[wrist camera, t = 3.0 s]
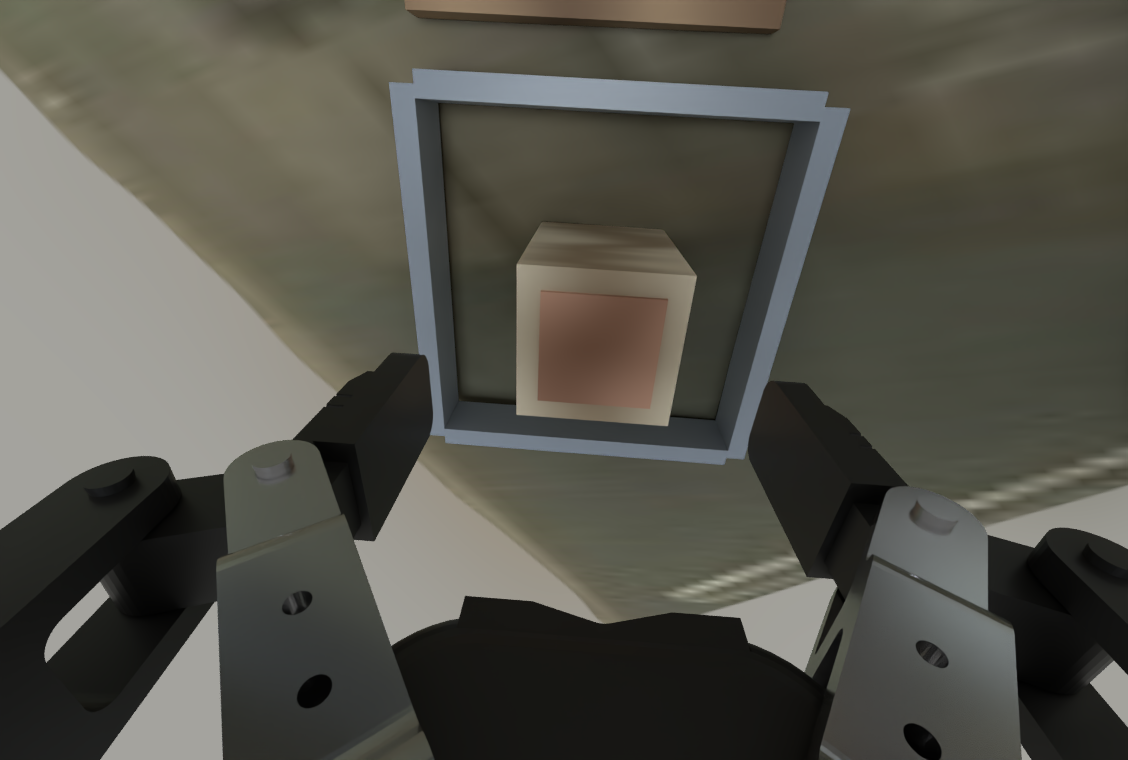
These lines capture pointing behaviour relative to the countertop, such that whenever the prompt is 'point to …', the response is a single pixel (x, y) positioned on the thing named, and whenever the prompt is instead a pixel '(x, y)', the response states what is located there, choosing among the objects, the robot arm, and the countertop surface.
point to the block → (600, 323)
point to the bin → (806, 109)
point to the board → (615, 13)
